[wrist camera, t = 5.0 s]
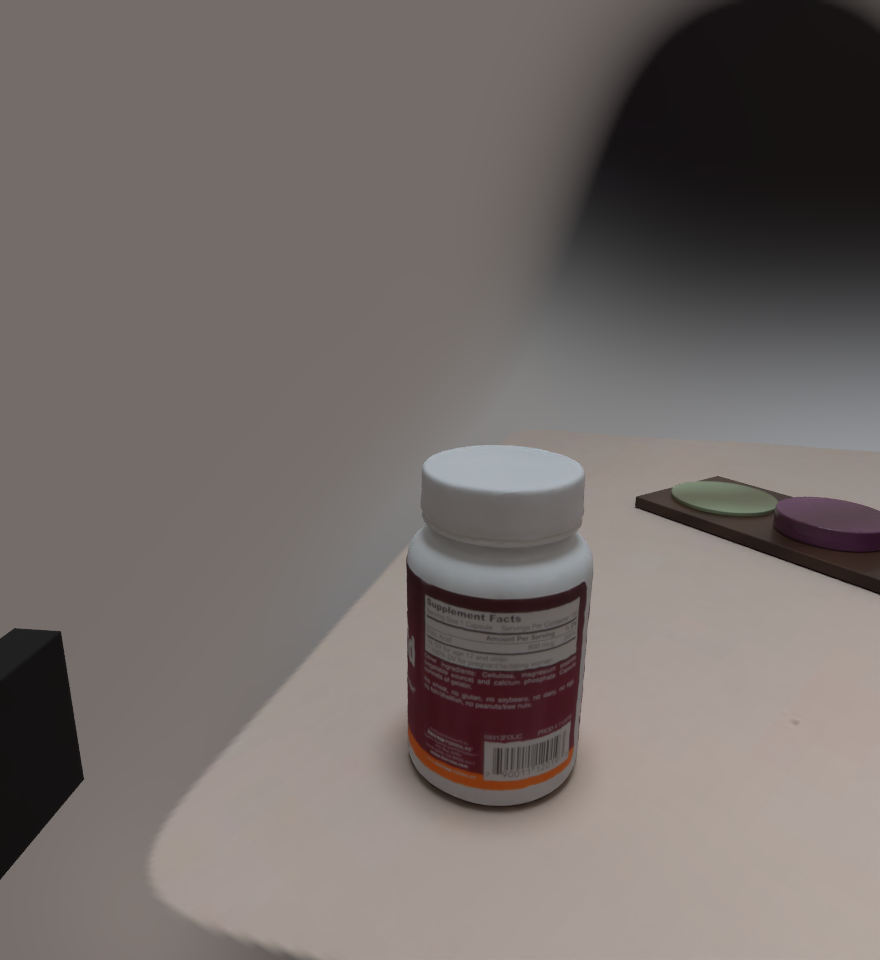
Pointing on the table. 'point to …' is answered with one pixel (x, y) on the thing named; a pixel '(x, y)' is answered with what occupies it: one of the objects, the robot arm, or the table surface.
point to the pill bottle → (497, 622)
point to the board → (780, 525)
